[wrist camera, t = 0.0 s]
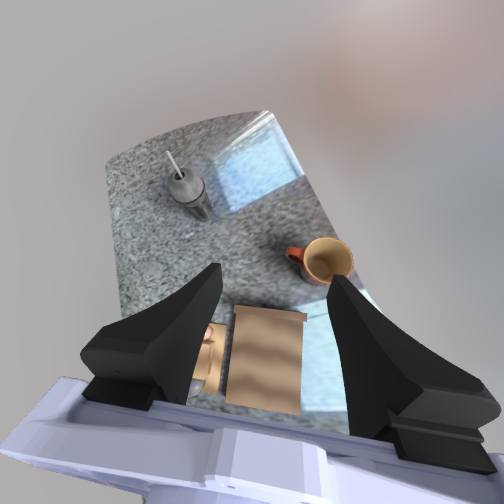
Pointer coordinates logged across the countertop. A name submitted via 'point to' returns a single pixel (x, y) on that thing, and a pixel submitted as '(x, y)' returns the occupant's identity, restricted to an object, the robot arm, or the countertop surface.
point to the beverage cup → (190, 192)
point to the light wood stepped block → (266, 359)
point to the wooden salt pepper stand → (209, 361)
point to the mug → (322, 260)
